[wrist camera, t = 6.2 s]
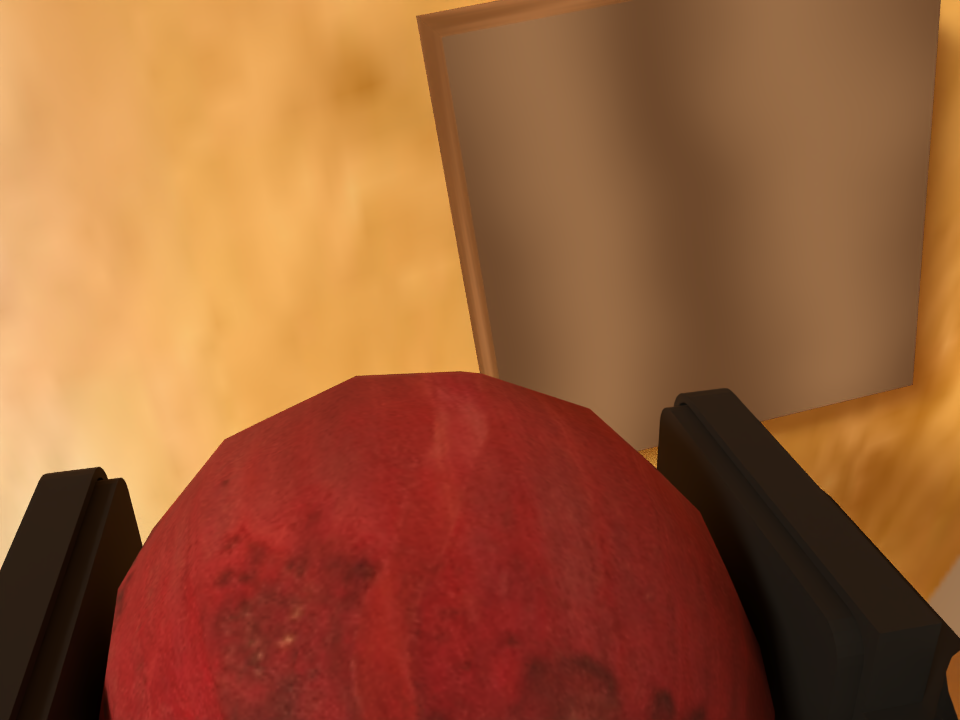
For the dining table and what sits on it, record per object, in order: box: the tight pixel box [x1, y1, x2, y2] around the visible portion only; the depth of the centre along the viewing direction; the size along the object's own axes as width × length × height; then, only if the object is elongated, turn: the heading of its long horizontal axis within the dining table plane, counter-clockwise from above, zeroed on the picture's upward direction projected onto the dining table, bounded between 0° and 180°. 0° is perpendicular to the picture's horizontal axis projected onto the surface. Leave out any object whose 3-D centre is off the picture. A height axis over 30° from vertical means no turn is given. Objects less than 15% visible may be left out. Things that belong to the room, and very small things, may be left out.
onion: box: [99, 371, 775, 720], centre depth 8 cm, size 6×6×8 cm
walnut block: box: [416, 0, 941, 451], centre depth 26 cm, size 12×12×5 cm
